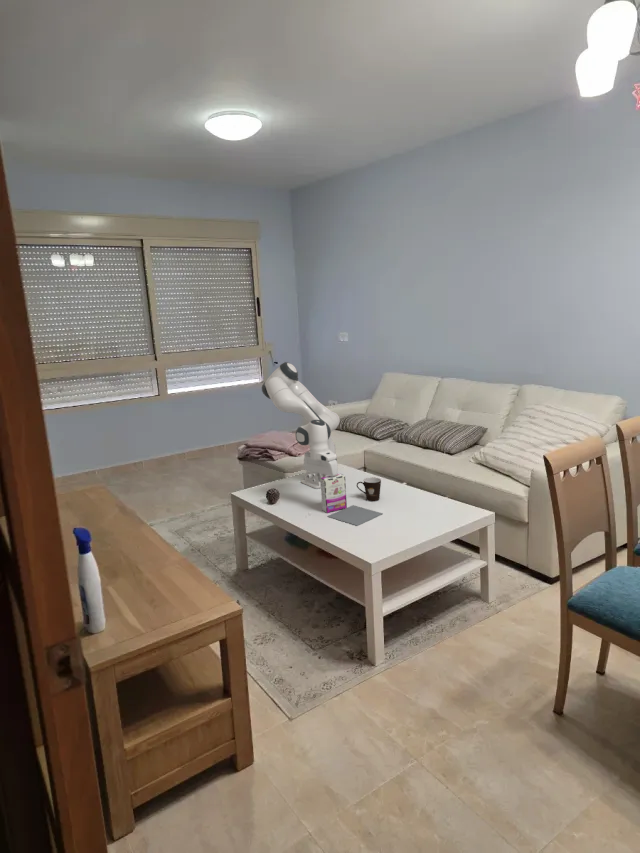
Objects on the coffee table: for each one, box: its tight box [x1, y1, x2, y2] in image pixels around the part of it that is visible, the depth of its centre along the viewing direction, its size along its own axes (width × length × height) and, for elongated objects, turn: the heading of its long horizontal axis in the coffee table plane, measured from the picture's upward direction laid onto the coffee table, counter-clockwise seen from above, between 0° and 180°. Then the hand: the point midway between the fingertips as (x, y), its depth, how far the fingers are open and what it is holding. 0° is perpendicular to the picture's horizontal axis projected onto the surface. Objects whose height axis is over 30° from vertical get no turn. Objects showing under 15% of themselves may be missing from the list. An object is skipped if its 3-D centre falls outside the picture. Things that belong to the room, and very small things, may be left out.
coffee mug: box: [356, 476, 382, 502], centre depth 281 cm, size 12×9×10 cm
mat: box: [327, 504, 384, 527], centre depth 261 cm, size 18×18×1 cm
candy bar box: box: [320, 473, 348, 514], centre depth 268 cm, size 11×5×16 cm, turn 118°
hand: (321, 481), depth 273 cm, fingers closed
